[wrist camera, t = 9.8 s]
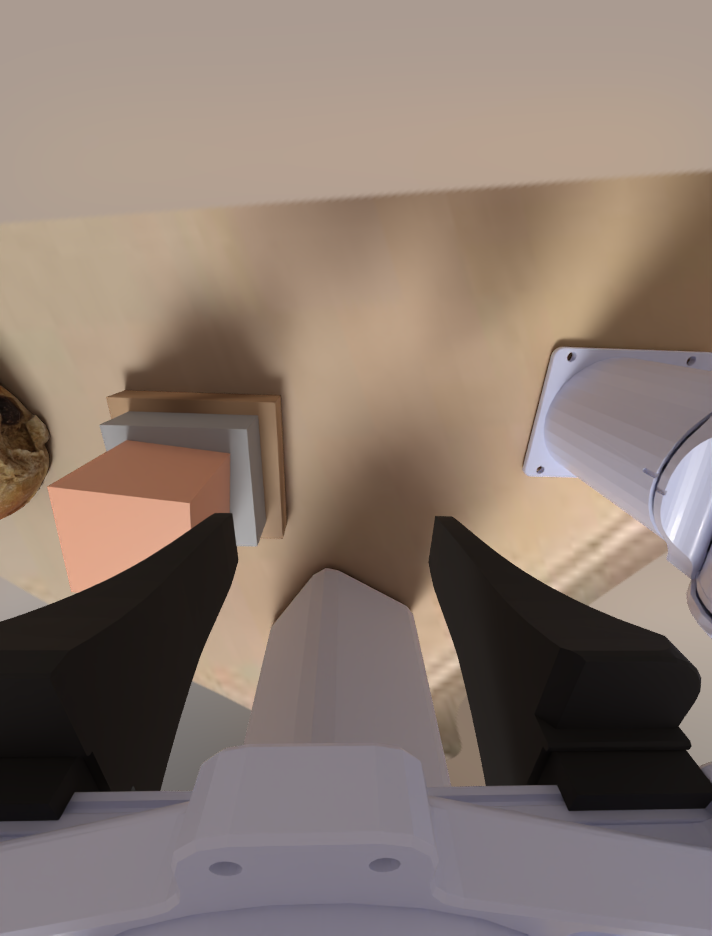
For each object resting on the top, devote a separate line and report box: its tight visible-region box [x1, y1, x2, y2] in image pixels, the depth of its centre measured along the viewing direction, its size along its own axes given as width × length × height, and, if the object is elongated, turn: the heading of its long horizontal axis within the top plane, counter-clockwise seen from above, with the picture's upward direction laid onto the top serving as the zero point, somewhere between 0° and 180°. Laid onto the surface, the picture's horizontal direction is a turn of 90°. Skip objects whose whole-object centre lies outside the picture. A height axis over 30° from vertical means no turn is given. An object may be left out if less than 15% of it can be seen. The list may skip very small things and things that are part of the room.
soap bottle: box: [244, 568, 451, 787], centre depth 17 cm, size 9×9×25 cm
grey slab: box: [100, 411, 266, 546], centre depth 20 cm, size 7×7×2 cm
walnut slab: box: [106, 390, 287, 539], centre depth 22 cm, size 9×9×2 cm
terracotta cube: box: [47, 440, 230, 593], centre depth 16 cm, size 5×5×5 cm
